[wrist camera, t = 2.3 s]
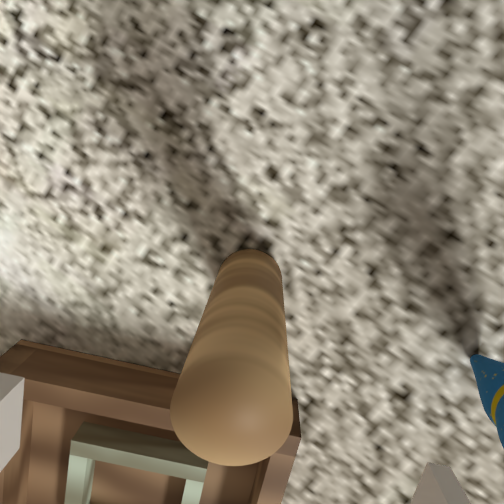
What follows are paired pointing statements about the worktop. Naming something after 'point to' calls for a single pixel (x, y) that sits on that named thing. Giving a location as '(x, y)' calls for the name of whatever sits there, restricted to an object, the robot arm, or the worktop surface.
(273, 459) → the box
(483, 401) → the ornament
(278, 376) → the peg
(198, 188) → the worktop surface
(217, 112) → the worktop surface
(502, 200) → the worktop surface
